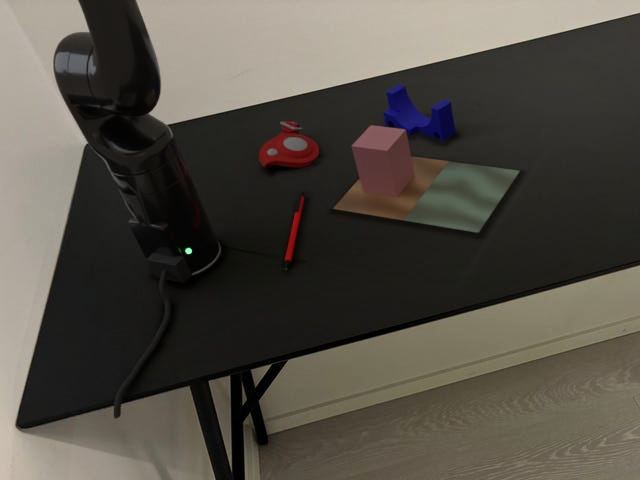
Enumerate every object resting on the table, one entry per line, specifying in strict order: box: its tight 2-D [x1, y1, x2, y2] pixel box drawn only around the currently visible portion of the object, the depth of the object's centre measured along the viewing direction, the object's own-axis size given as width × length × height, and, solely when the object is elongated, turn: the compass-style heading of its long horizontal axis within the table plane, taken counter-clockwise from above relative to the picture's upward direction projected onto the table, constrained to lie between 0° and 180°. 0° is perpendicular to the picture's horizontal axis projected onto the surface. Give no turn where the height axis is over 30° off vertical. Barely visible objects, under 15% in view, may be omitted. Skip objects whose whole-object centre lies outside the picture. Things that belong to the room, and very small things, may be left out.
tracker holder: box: [258, 120, 320, 170], centre depth 138 cm, size 12×4×10 cm
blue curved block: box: [382, 83, 456, 142], centre depth 138 cm, size 12×4×6 cm, turn 47°
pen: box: [284, 191, 305, 271], centre depth 123 cm, size 1×19×1 cm, turn 1°
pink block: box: [351, 124, 415, 197], centre depth 126 cm, size 6×6×8 cm
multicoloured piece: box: [332, 155, 521, 234], centre depth 127 cm, size 16×24×1 cm, turn 65°
